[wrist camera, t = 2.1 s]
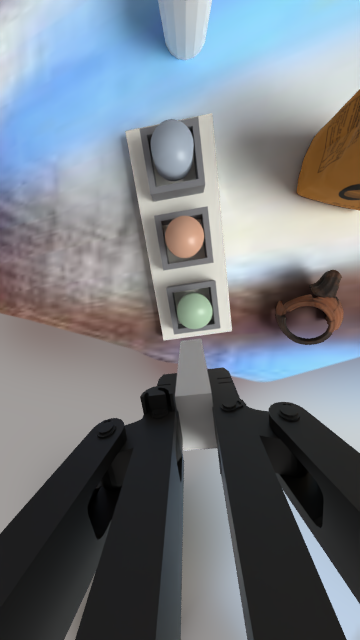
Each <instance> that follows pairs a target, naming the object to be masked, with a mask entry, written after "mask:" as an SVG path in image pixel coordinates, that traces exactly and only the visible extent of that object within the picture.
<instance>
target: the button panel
mask: <svg viewBox="0 0 360 640" xmlns="http://www.w3.org/2000/svg"><path fill="white" fill-rule="evenodd" d="M178 121H181V122H182V123H184V124H185V125H186V126H187V127H188V129H189V130H190V132H191V134H192V137H193V143H194V147H193V161H192V166H191V169H190V171H189V173H188V174H187V175H186V176H185V177H184V178H183V179H181V180H178V181H169V180H166V179H164V178H163V177H162V176H161V175H160V174H159V173H158V171H157V169H156V166H155V163H154V159H153V156H152V152H151V138H152V135H153V132H154V130H155V129H156V127H157V126H158V125H159V124H157V125H153V126H148V127H143V128H138V129H133V130H128V131H125V132H126V138H127V143H128V149H129V154H130V159H131V165H132V170H133V176H134V181H135V187H136V192H137V198H138V203H139V208H140V214H141V219H142V225H143V230H144V236H145V241H146V247H147V252H148V258H149V263H150V268H151V274H152V279H153V285H154V290H155V296H156V301H157V307H158V312H159V317H160V323H161V328H162V334H163V339H164V340H170V339H177V338H185V337H192V336H200V335H207V334H214V333H222V332H229V331H232V327H231V316H230V305H229V294H228V283H227V272H226V261H225V250H224V239H223V228H222V217H221V206H220V195H219V184H218V173H217V162H216V151H215V140H214V129H213V118H212V113H211V114H206V115H201V116H197V117H192V118H187V119H182V120H178ZM179 216H190V217H193V218H194V219H196V220H197V221H198V222H199V223H200V225H201V226H202V228H203V232H204V241H203V244H202V246H201V248H200V250H199V251H198V252H197V253H196V254H195V255H194V256H192V257H190V258H179V257H177V256H175V255H174V254H173V253H172V252H171V251H170V250H169V248H168V247H167V244H166V241H165V233H166V229H167V227H168V225H169V224H170V222H171V221H172V220H174V219H175V218H177V217H179ZM190 292H198V293H201V294H203V295H204V296H205V297H206V298H207V299H208V301H209V302H210V304H211V306H212V317H211V320H210V321H209V323H208V324H207V325H205V326H204V327H202V328H199V329H190V328H187V327H185V326H184V325H183V324H182V323H181V322H180V321H179V319H178V316H177V308H178V303H179V301H180V299H181V298H182V297H183V296H184V295H185V294H187V293H190Z"/></svg>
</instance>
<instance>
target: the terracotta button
mask: <svg viewBox="0 0 360 640" xmlns="http://www.w3.org/2000/svg"><path fill="white" fill-rule="evenodd" d="M165 241H166V244H167V247H168V248H169V250H170V251H171V252H172V253H173V254H174V255H175V256H177V257H179V258H190V257H192V256H194V255H195V254H196V253H197V252H198V251H199V250H200V248H201V246H202V244H203V241H204V232H203V228H202V226H201V225H200V223H199V222H198V221H197V220H196V219H194V218H193V217H190V216H179V217H177V218H175V219H174V220H172V221H171V222H170V224H169V225H168V227H167V229H166V233H165Z"/></svg>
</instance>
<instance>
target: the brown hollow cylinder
mask: <svg viewBox="0 0 360 640" xmlns="http://www.w3.org/2000/svg"><path fill="white" fill-rule="evenodd" d="M341 278H342V276H341V274H340V273H339V272H338V271H336V270H330V271H328V272H326V273H324V275H323V276H322V277H321V278H320V279H319V281H318V282H316V283H314V284H311V285H310V286H309V287H310V288H311V290H312V292H313V293H314V294H315V295H316V296H319V297H317V298H313V297H312V295H311V294H309V295H305V296H300V297H297V298H295V299H292V300H290V301H288V302H287V303H285V304H284V305H283V304H282V301H279V302H278V304H277V306H276V315H275V316H276V320H277V323H278V325H279V327H280V329H281V330H282V331H283V333H284V334H285V335H286V336H287V337H288V338H289V339H290V340H292V341H294V342H296V343H299V344H305V345H308V344H309V345H311V344H318V343H321V342H324V341H325V340H326V339H328V338H329V337H330V336H331V335H332V332H333V331H334V330H337V329H338V328H339V327H340V325H341V323H342V320H343V308H342V305H341V303H340V301H339V299H338V298H337V297H336V293H337V290H338V288H339V283H340V280H341ZM302 306H314V307H316V308H319V309H320V310H322V311H323V312H324V313H325V314H326V315H327V316H326V317H325V320H326V321H327V324H328V325H329V326H328V328H327V330H326V332H325V333H323V334H322V335H320V336H318V337H316V338H311V339H305V338H300V337H297V336H295V335H294V334H292V333H291V332H290V331H289V329H288V328H287V326H286V316H285V314H286V312H287V311H289V312H291V311H292V310H294V309H296V308H298V307H302Z"/></svg>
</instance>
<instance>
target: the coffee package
mask: <svg viewBox="0 0 360 640" xmlns="http://www.w3.org/2000/svg"><path fill="white" fill-rule="evenodd" d="M297 193H298V194H299V195H300V196H303V197H306V198H309V199H312V200H316V201H320V202H323V203H327V204H331V205H336V206H340V207H345V208H350V209H355V210H360V90H359V91H358V92H357V93H356V94H355V95H354V96H353V97H352V98H351V99H350V100H349V101H348V102H347V103H346V104H345V105H344V106H343V107H342V108H341V109H340V110H339V112H338V113H337V114H336V115H335V116H334V117H333V118H332V119H331V120H330V121H329V122H328V123H327V124H326V125H325V126H324V127H323V128H322V129H321V130H320V131H319V132H318V133H317V134H316V136H315V137H314V138H313V140H312V142H311V145H310V147H309V149H308V151H307V153H306V155H305V157H304V160H303V163H302V168H301V171H300V175H299V179H298V186H297Z"/></svg>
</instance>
